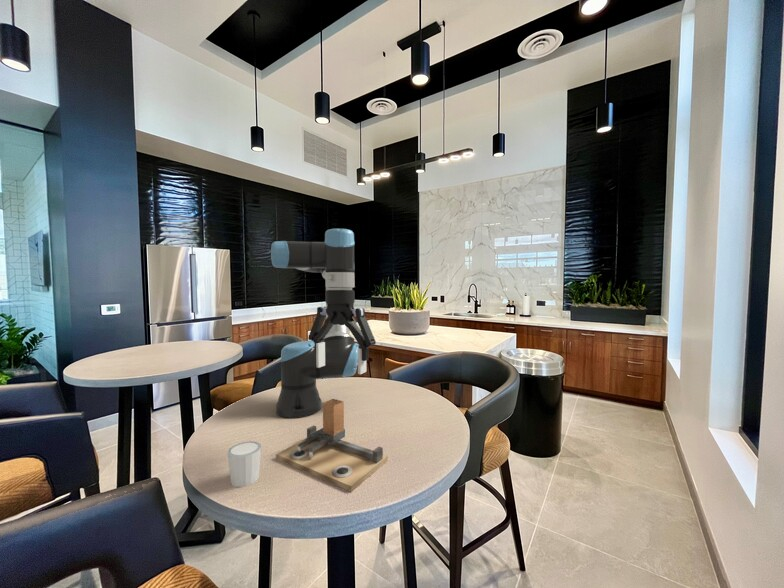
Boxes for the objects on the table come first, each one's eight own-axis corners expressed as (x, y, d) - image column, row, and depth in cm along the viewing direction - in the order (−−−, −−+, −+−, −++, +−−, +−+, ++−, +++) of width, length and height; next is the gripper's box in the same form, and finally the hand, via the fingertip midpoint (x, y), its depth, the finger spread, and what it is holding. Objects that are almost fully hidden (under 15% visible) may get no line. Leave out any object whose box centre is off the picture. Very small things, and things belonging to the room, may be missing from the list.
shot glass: (235, 471, 74) (235, 441, 74) (265, 469, 75) (265, 440, 74) (222, 489, 67) (221, 457, 67) (255, 488, 68) (255, 455, 67)
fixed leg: (292, 451, 79) (292, 443, 79) (323, 434, 88) (322, 427, 88) (303, 455, 77) (303, 448, 77) (333, 438, 86) (333, 431, 86)
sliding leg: (303, 455, 77) (303, 411, 77) (333, 438, 86) (333, 398, 86) (315, 460, 75) (314, 415, 75) (345, 441, 84) (344, 401, 84)
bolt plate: (276, 459, 79) (276, 443, 79) (317, 436, 91) (317, 422, 91) (351, 492, 66) (351, 473, 66) (387, 460, 78) (387, 444, 78)
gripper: (294, 289, 86) (295, 367, 86) (373, 289, 74) (373, 379, 75) (313, 288, 92) (314, 361, 93) (388, 289, 80) (389, 372, 81)
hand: (340, 369), depth 84 cm, fingers open, 13 cm apart
